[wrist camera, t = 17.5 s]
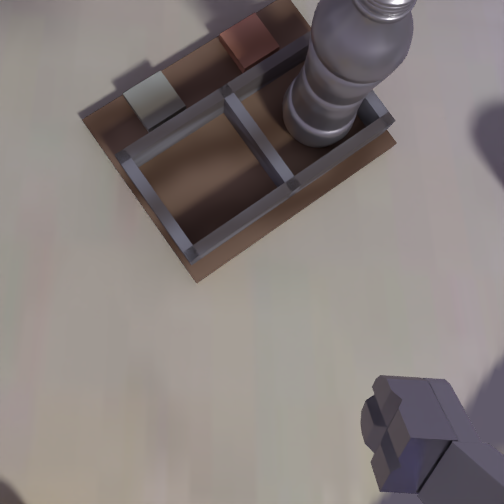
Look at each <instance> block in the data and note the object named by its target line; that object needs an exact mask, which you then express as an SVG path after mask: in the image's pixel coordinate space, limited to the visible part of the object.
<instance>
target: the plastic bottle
mask: <svg viewBox="0 0 504 504" xmlns="http://www.w3.org/2000/svg"><path fill="white" fill-rule="evenodd" d="M415 3H416V0H320V2H319V3H318V5H317V7H316V10H315V12H314V17H313V20H312V26H311V34H310V41H309V49H308V52H307V56H306V60H305V63H304V65H303V67H302V69H301V71H300V72H299V74H298V76H296V77H295V78H294V80H293V81H292V83H291V84H290V86H289V87H288V89H287V90H286V92H285V95H284V98H283V120H284V124H285V126H286V128H287V130H288V131H289V133H290V134H291V135H292V136H293V137H294V138H295V139H296V140H297V141H298V142H300V143H302V144H304V145H306V146H309V147H313V148H322V147H327V146H330V145H332V144H334V143H336V142H337V141H339V140H341V139H342V138H343V137H344V136H345V135H346V134H347V133H348V132H349V130H350V129H351V127H352V125H353V122H354V120H355V117H356V115H357V110H358V108H359V107H360V105H361V103H362V101H363V99H364V98H365V97H366V96H367V95H368V94H369V93H370V92H371V90H372V89H373V88H374V87H376V86H377V85H378V84H379V83H381V82H382V81H383V80H384V79H385V78H387V77H388V76H389V75H390V74H391V73H392V72H393V71H394V70H395V69H396V68H397V67H398V66H399V65H400V64H401V63H402V62H403V60H404V59H405V57H406V56H407V54H408V51H409V48H410V45H411V41H412V36H413V29H414V27H413V18H412V13H411V10H412V8H413V7H414V5H415Z"/></svg>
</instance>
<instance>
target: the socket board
mask: <svg viewBox="0 0 504 504" xmlns="http://www.w3.org/2000/svg"><path fill="white" fill-rule="evenodd" d="M310 34H311V27H310V26H309V24H308V23H307V22H306V20H305V19H304V18H303V16H302V15H301V14H300V12H299V11H298V10H297V8H296V7H295V5H294V4H293V3H292V1H291V0H276V1H275V2H273V3H271V4H270V5H268V6H266V7H265V8H263V9H262V10H260V11H258V12H257V13H253V14H252V15H250V16H248V17H247V18H245V19H243V20H242V21H240V22H238V23H237V24H235V25H234V26H232V27H230V28H229V29H227V30H225V31H224V32H222V33H221V34H220V35H219V36H218V37H216V38H214V39H213V40H211V41H209V42H208V43H206V44H205V45H203V46H201V47H200V48H198V49H196V50H195V51H193V52H191V53H190V54H188V55H187V56H185V57H183V58H182V59H180V60H178V61H177V62H175V63H174V64H172V65H170V66H169V67H167V68H165V69H164V70H162V71H161V70H160V71H159V72H157V73H155V74H154V75H152V76H150V77H149V78H147V79H145V80H144V81H142V82H141V83H139V84H137V85H136V86H134V87H132V88H131V89H129V90H128V91H126V92H124V93H123V95H121V96H120V97H118V98H117V99H115V100H113V101H112V102H110V103H108V104H107V105H105V106H103V107H102V108H100V109H99V110H97V111H95V112H94V113H92V114H90V115H89V116H87V117H86V118H84V119H82V120H83V122H84V123H85V125H86V126H87V128H88V129H89V130H90V132H91V133H92V135H93V136H94V138H95V139H96V140H97V142H98V143H99V145H100V146H101V148H102V149H103V150H104V152H105V153H106V155H107V156H108V158H109V159H110V160H111V162H112V163H113V165H114V166H115V168H116V169H117V170H118V172H119V173H120V175H121V176H122V178H123V179H124V180H125V182H126V183H127V185H128V186H129V187H130V189H131V190H132V192H133V193H134V195H135V196H136V197H137V199H138V200H139V202H140V203H141V205H142V206H143V207H144V209H145V210H146V212H147V213H148V215H149V216H150V217H151V219H152V220H153V222H154V223H155V225H156V226H157V227H158V229H159V230H160V232H161V233H162V235H163V236H164V237H165V239H166V240H167V242H168V243H169V245H170V246H171V247H172V249H173V250H174V252H175V253H176V255H177V256H178V257H179V259H180V260H181V262H182V263H183V265H184V266H185V267H186V269H187V270H188V272H189V273H190V275H191V276H192V277H193V279H194V280H195V282H196V283H198V282H199V281H201V280H202V279H204V278H205V277H207V276H208V275H209V274H211V273H212V272H214V271H215V270H217V269H218V268H219V267H221V266H222V265H224V264H225V263H227V262H228V261H229V260H231V259H232V258H234V257H235V256H237V255H238V254H240V253H241V252H242V251H244V250H245V249H247V248H248V247H250V246H251V245H252V244H254V243H255V242H257V241H258V240H260V239H261V238H262V237H264V236H265V235H267V234H268V233H270V232H271V231H272V230H274V229H275V228H277V227H278V226H280V225H281V224H283V223H284V222H285V221H287V220H288V219H290V218H291V217H293V216H294V215H295V214H297V213H298V212H300V211H301V210H303V209H304V208H305V207H307V206H308V205H310V204H311V203H313V202H314V201H315V200H317V199H318V198H320V197H321V196H323V195H324V194H326V193H327V192H328V191H330V190H331V189H333V188H334V187H336V186H337V185H338V184H340V183H341V182H343V181H344V180H346V179H347V178H348V177H350V176H351V175H353V174H354V173H356V172H357V171H358V170H360V169H361V168H363V167H364V166H366V165H367V164H369V163H370V162H371V161H373V160H374V159H376V158H377V157H379V156H380V155H381V154H383V153H384V152H386V151H387V150H389V149H390V148H391V147H393V146H394V145H395V144H396V141H395V140H394V139H393V137H392V136H391V135H390V133H389V132H388V131H387V129H388V128H389V127H390V126H391V125H392V124H393V122H394V121H395V119H394V118H393V117H392V115H391V114H390V113H389V111H388V110H387V109H386V107H385V106H384V105H383V103H382V102H381V101H380V99H379V98H378V97H377V95H376V94H375V93H374V91H373V90H371V92H370V93H369V94H368V95H367V96H366V97H365V98H364V99H363V101H362V103H361V105H360V107H359V108H358V110H357V115H356V117H355V120H354V122H353V125H352V127H351V129H350V130H349V132H348V133H347V134H346V135H345V136H344V137H343V138H342V139H341V140H339V141H337V142H336V143H334V144H332V145H330V146H327V147H322V148H313V147H309V146H306V145H304V144H302V143H300V142H298V141H297V140H296V139H295V138H294V137H293V136H292V135H291V134H290V133H289V131H288V130H287V128H286V126H285V124H284V120H283V98H284V95H285V92H286V90H287V89H288V87H289V86H290V84H291V83H292V81H293V80H294V78H295V77H296V76H298V74H299V72H300V71H301V69H302V67H303V65H304V63H305V60H306V56H307V52H308V49H309V41H310Z"/></svg>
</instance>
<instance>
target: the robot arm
mask: <svg viewBox="0 0 504 504" xmlns="http://www.w3.org/2000/svg"><path fill="white" fill-rule="evenodd" d="M372 388H373V391H374V394H375V395H373V396H372V397H370V398H369V399H367V400H366V401H365V403H364V406H363V408H362V411H361V431H362V436H363V439H364V442H365V444H366V445H367V446H368V447H369V448H370V449H371V450H372V451H373V452H374V455H373V458H372V460H371V465H372V468H373V472H374V475H375V478H376V481H377V484H378V487H379V491H380V492H394V493H411V494H418V495H417V496H418V498H419V499H420V500H421V501H422V503H423V504H504V455H503V454H501V453H500V452H499V451H498V450H497V449H495V448H494V447H493V446H492V445H490V444H489V443H482V441H481V439H480V438H479V436H478V434H477V432H476V430H475V429H474V427H473V425H472V423H471V421H470V419H469V417H468V416H467V414H466V412H465V410H464V408H463V406H462V405H461V403H460V401H459V399H458V397H457V396H456V394H455V392H454V390H453V388H452V386H451V385H450V383H449V382H447V381H446V380H445V379H432V378H419V377H403V376H387V375H380V376H379V377H378V378H376V380H375V382H374V384H373V386H372Z"/></svg>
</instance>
